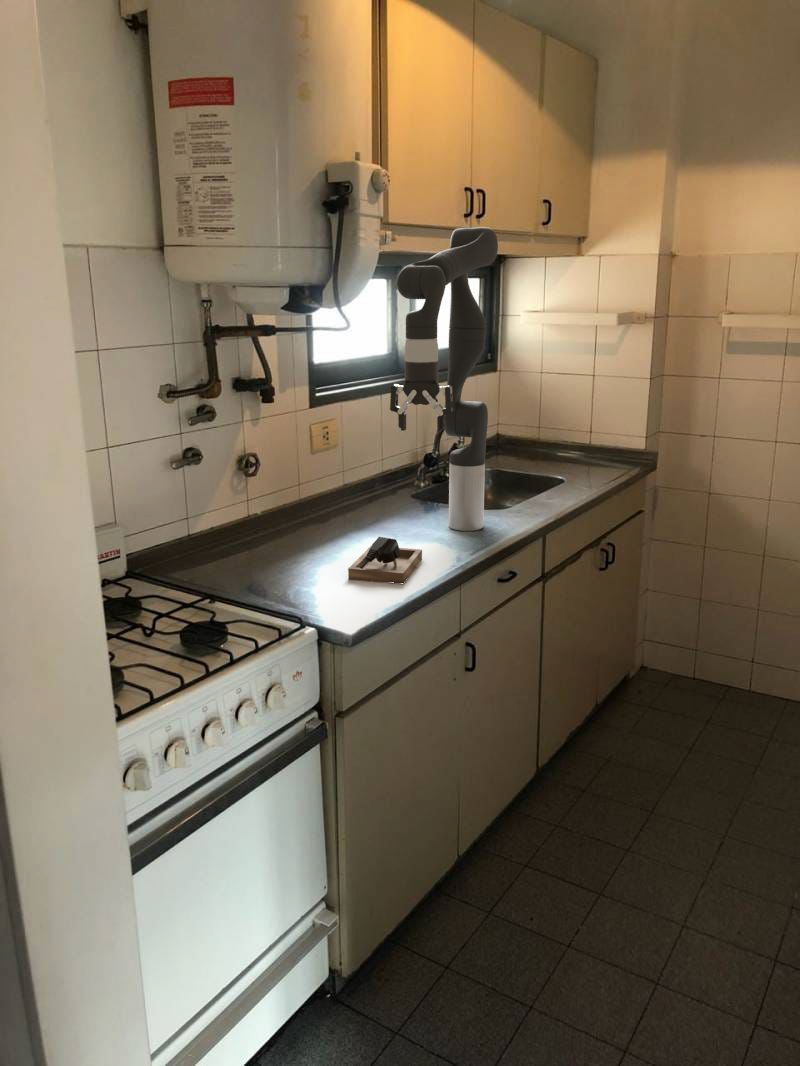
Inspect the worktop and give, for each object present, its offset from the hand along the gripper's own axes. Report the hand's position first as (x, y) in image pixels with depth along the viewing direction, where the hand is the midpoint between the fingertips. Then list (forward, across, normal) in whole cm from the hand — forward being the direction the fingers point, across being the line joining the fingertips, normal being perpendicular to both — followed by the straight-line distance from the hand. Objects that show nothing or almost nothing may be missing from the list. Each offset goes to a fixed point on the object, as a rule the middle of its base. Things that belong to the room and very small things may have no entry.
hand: (421, 430), depth 195 cm
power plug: (+28, +6, +17) cm, 33 cm away
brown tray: (+30, +5, +13) cm, 33 cm away
